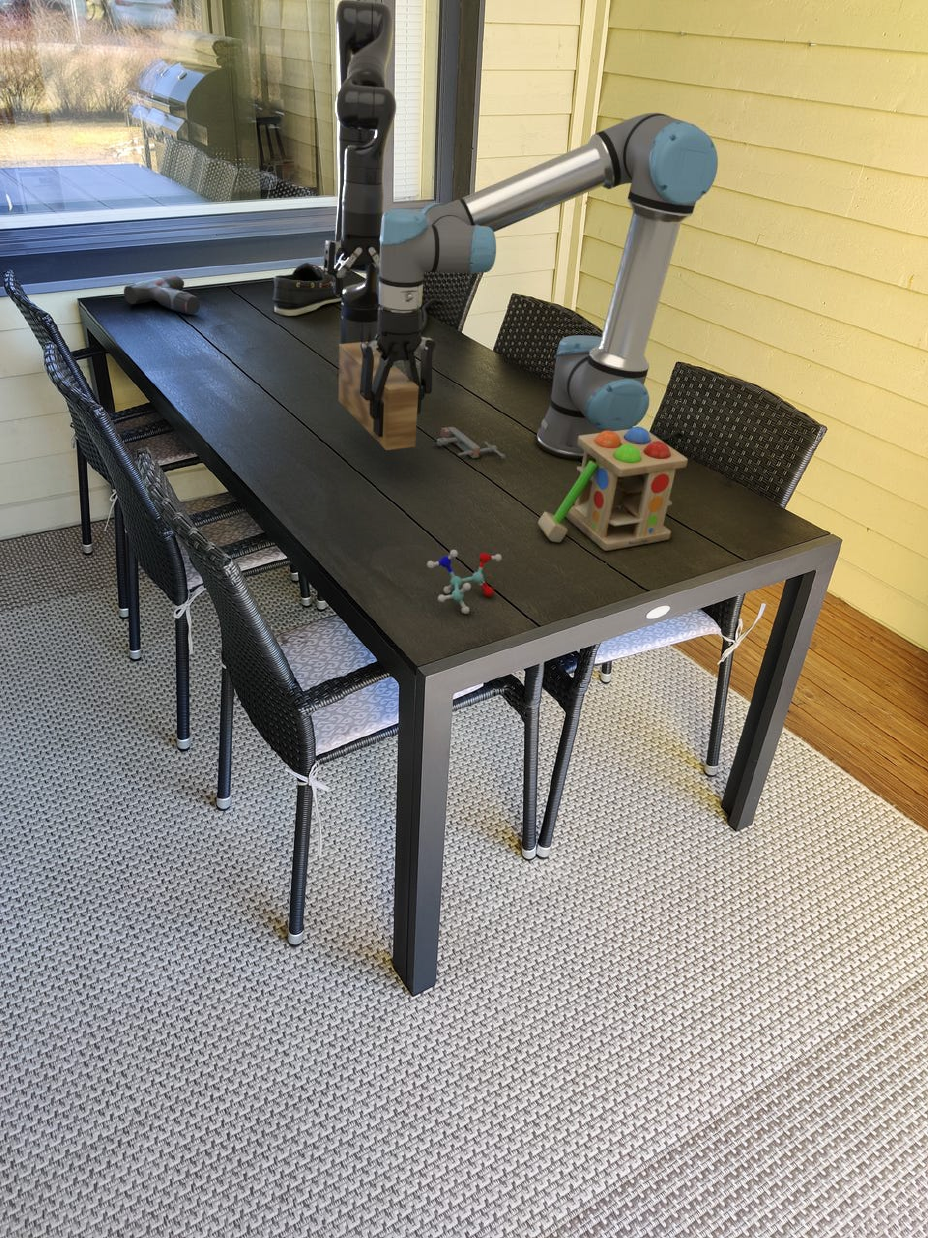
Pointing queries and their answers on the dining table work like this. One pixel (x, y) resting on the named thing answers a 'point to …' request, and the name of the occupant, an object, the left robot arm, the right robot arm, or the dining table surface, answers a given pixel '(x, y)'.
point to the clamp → (464, 443)
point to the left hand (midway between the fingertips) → (359, 296)
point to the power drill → (163, 294)
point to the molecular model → (457, 581)
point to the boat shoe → (304, 290)
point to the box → (395, 396)
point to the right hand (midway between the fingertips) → (394, 431)
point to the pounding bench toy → (619, 490)
